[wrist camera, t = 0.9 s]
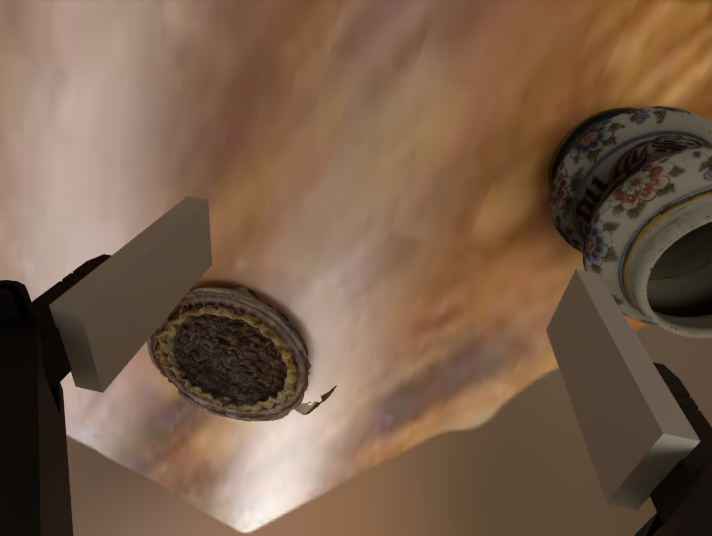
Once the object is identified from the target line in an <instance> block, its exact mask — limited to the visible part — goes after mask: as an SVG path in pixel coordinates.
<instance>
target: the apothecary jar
mask: <svg viewBox="0 0 712 536" xmlns="http://www.w3.org/2000/svg"><path fill="white" fill-rule="evenodd" d="M549 185H550V189H551V192H550V208H551V214H552V218H553V221H554V224H555V226H556V228H557V230H558V231H559V233H560V234H561V236H562V237H563V238H564V239H565V240H566V241H567V242H568V243H569V244H570V245H571V246H573V247H574V248H575V249H577V250H578V251H580V252H582V253H583V263H584V268H585V271H587V272H593V273H598V274H599V275H600V277H601V279H602V280H603V282H604V284H605V285H606V287H607V288H608V290H609V292H610V293H611V295H612V297H613V298H614V300H615V302H616V303H617V305H618V307H619V308H620V310H621V311H622V313H623V315H625V316H627V317H629V318H631V319H634V320H637V321H640V322H644V323H648V324H653V325H658V326H659V327H661V328H663V329H665V330H667V331H669V332H672V333H675V334H678V335H682V336H687V337H694V338H712V123H711V122H710V121H709V120H707V119H706V118H704V117H702V116H701V115H699V114H696V113H694V112H692V111H689V110H685V109H681V108H674V107H664V106H658V107H647V108H641V109H636V108H618V109H611V110H607V111H604V112H601V113H599V114H597V115H594V116H592V117H590V118H588V119H587V120H585V121H583V122H582V123H580V124H579V125H578V126H576V127H575V128H574V129H573V130H572V131H571V132H570V133H569V134H568V135H567V136H566V137H565V138H564V139H563V141H562V142H561V144H560V145H559V147H558V148H557V150H556V152H555V154H554V156H553V159H552V162H551V165H550V170H549Z"/></svg>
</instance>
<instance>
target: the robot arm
mask: <svg viewBox="0 0 712 536" xmlns="http://www.w3.org/2000/svg"><path fill="white" fill-rule="evenodd" d="M211 265H212V256H211V240H210V224H209V208H208V200H205V199H200V198H195V197H189V196H187V197H186V198H185V199H183V200H182V201H181V202H180V203H178V204H177V205H176V206H175V207H173V208H172V209H171V210H169V211H168V212H167V213H166V214H164V215H163V216H162V217H161V218H159V219H158V220H157V221H155V222H154V223H153V224H152V225H150V226H149V227H148V228H147V229H145V230H144V231H143V232H141V233H140V234H139V235H138V236H136V237H135V238H134V239H133V240H131V241H130V242H129V243H128V244H126V245H125V246H124V247H122V248H121V249H120V250H119V251H117V252H116V253H115V254H114V255H112V256H110V255H105V254H103V255H101V256H98V257H96V258H94V259H91V260H89V261H86V262H85V263H84V264H82V265H81V266H80V267H78V268H77V269H76V270H74V271H73V273H70V274H69V275H67V276H66V277H65V278H63V280H62V282H61V281H59V282H58V283H57V284H55V285H54V286H53V287H51V288H50V289H49V290H47V291H46V292H45V293H43V294H42V295H41V296H39V297H38V298H37V299H35V300H34V301H33V302H31V299H30V297H29V294H28V291H27V289H26V287H25V285H24V284H22V283H20V282H18V281H10V280H1V281H0V536H73V524H72V511H71V496H70V482H69V468H68V454H67V441H66V426H65V412H64V398H63V389H62V386H61V384H60V381H61V380H62V379H63V378H64V377H65V376H66V375H67V374H68V373H69V372H70V371H71V373H72V377H73V380H74V383H75V386H76V387H80V388H84V389H89V390H93V391H98V392H104V391H105V390H106V389H107V387H108V386H109V385H110V384H111V383H112V381H113V380H114V379H115V378H116V377H117V376H118V374H119V373H120V372H121V371H122V370H123V368H124V367H125V366H126V365H127V364H128V363H129V361H130V360H131V359H132V358H133V357H134V355H135V354H136V353H137V352H138V351H139V350H140V348H141V347H142V346H143V345H144V344H145V342H146V341H147V340H148V339H149V338H150V337H151V335H152V334H153V333H154V332H155V331H156V330H157V328H158V327H159V326H160V325H161V324H162V322H163V321H164V320H165V319H166V318H167V317H168V315H169V314H170V313H171V312H172V311H173V309H174V308H175V307H176V306H177V305H178V304H179V302H180V301H181V300H182V299H183V298H184V296H185V295H186V294H187V293H188V292H189V291H190V289H191V288H192V287H193V286H194V285H195V283H196V282H197V281H198V280H199V279H200V278H201V276H202V275H203V274H204V273H205V272H206V271H207V269H208V268H209V267H210V266H211ZM546 331H547V334H548V337H549V340H550V343H551V346H552V349H553V352H554V355H555V357H556V360H557V363H558V366H559V369H560V372H561V375H562V378H563V381H564V383H565V386H566V389H567V392H568V395H569V398H570V401H571V404H572V407H573V410H574V413H575V416H576V418H577V421H578V424H579V427H580V430H581V433H582V436H583V439H584V442H585V444H586V447H587V450H588V453H589V456H590V459H591V462H592V465H593V468H594V471H595V474H596V477H597V479H598V482H599V485H600V488H601V491H602V493H603V497H604V500H605V503H608V504H612V505H617V506H622V507H626V508H630V509H635V510H638V508H640V506H641V505H642V504H643V503H644V502H645V501H646V500H647V499H648V498H649V497H651V499H652V502H653V504H654V506H655V508H656V511H657V513H656V514H655V515H654V516H653V517H652V518H651V519H650V520H649V521H648V522H647V523H646V524H645V525H644V526H643V527H642V528H641V529H640V530H639V531H638V532H637V533H636V534H635V536H712V428H711V426H710V425H709V423H708V422H707V420H706V419H705V417H704V416H703V414H702V413H701V411H698V406H697V405H696V404H695V402H694V400H693V399H692V398H690V394H689V393H688V391H687V390H686V388H685V387H684V385H683V384H682V382H681V380H680V379H679V378H678V377H677V376H675V375H674V374H673V373H672V372H671V371H670V370H669V369H668V368H667V367H666V366H665V365H663V364H658V363H653V362H652V361H651V359H650V358H649V356H648V354H647V353H646V351H645V349H644V348H643V346H642V344H641V343H640V341H639V339H638V338H637V336H636V334H635V333H634V331H633V329H632V328H631V326H630V325H629V323H628V321H627V320H626V318H625V316H624V315H623V313H622V311H621V310H620V308H619V307H618V305H617V303H616V302H615V300H614V298H613V297H612V295H611V293H610V292H609V290H608V288H607V287H606V285H605V284H604V282H603V280H602V279H601V277H600V275H599V274H598V273H593V272H587V271H582V270H577V269H576V270H575V272H574V274H573V276H572V278H571V280H570V282H569V284H568V286H567V288H566V290H565V292H564V294H563V296H562V298H561V301H560V303H559V305H558V307H557V309H556V311H555V313H554V315H553V317H552V319H551V321H550V323H549V325H548V327H547V329H546Z"/></svg>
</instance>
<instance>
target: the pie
mask: <svg viewBox="0 0 712 536" xmlns="http://www.w3.org/2000/svg"><path fill="white" fill-rule="evenodd" d="M147 344H148V350H149V354H150V358H151V360H152V362H153V364H154V365H155V366H156V368H157V369H158V370H159V371H160V373H161V374H163V376H164V377H167V378H168V381H169V383H171V382H172V383H173V384H174V385H175V386H176V387H177V388H178V390H179V391H178V394H179V395H180V396H181V397H182V398H184V399H186V400H188V401H191V404H193V405H194V406H196V407H201V409H204V408H205V409H206V410H207V411H208V412H209V413H212V414H215V415H220V416H223V417H229V418H233V419H237V420H244V421H270V420H271V421H274V420H278V419H281V418H284V417H285V416H287V415H288V414H289V412H290V411H291V410H293V409H295V410H296V411H298V412H299V413H301V414H302V415H306V414H309V413H310V412H312V411H313V410H314V409H315V408H316V407H318V405H319V404H320V403H322V402H323V401H325V400H326V399H327V398H328V397H329V396H330V395H331V393H332V392H333V391H334V389H335V388H336V386H337V385H336V386H335V387H334V388H332V389H331V390H330V391H329V392H328V393H326V394H324V395H322V396H321V398H322V401H321V402H319V403H318V402H314V403H312V404H313V405H310V406H309V405H308V403H303V404H301V403H302V401H303V398H304V392H305V391H306V390H307V386H308V374H309V372H308V370H309V368H311V365H310V363H309V362H308V360H307V359H308V358H307V356H308V350H307V347H306V345H305V343H304V341H303V339H302V337H301V336H300V334H299V332H298V331H297V330H296V329H295V328H294V327H293V326H292V325H291V324H290V323H289V320H288V319H287V318H286V317H285V316H284V315H283V314H280V313H279V312H278V311H275V310H273V309H272V308H271V306H270V305H268V304H264V303H262V302H261V301H259V299H258V298H257V297H256V296H255V294H254V292H253V291H251V290H250V289H247V288H244V287H240V286H236V287H233V288H232V287H229V288H215V287H206V288H199V289H195V290H192V291H189V292H188V293H187V294H186V295H185V296H184V298H183V299H182V300H181V301H180V302H179V304H178V305H177V306H176V307H175V308H174V309H173V311H172V312H171V313H170V314H169V315H168V317H167V318H166V319H165V320H164V321H163V322H162V324H161V325H160V326H159V327H158V328H157V330H156V331H155V332H154V333H153V334H152V335H151V337H150V338H149V339H148V340H147ZM309 403H311V402H309Z"/></svg>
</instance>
